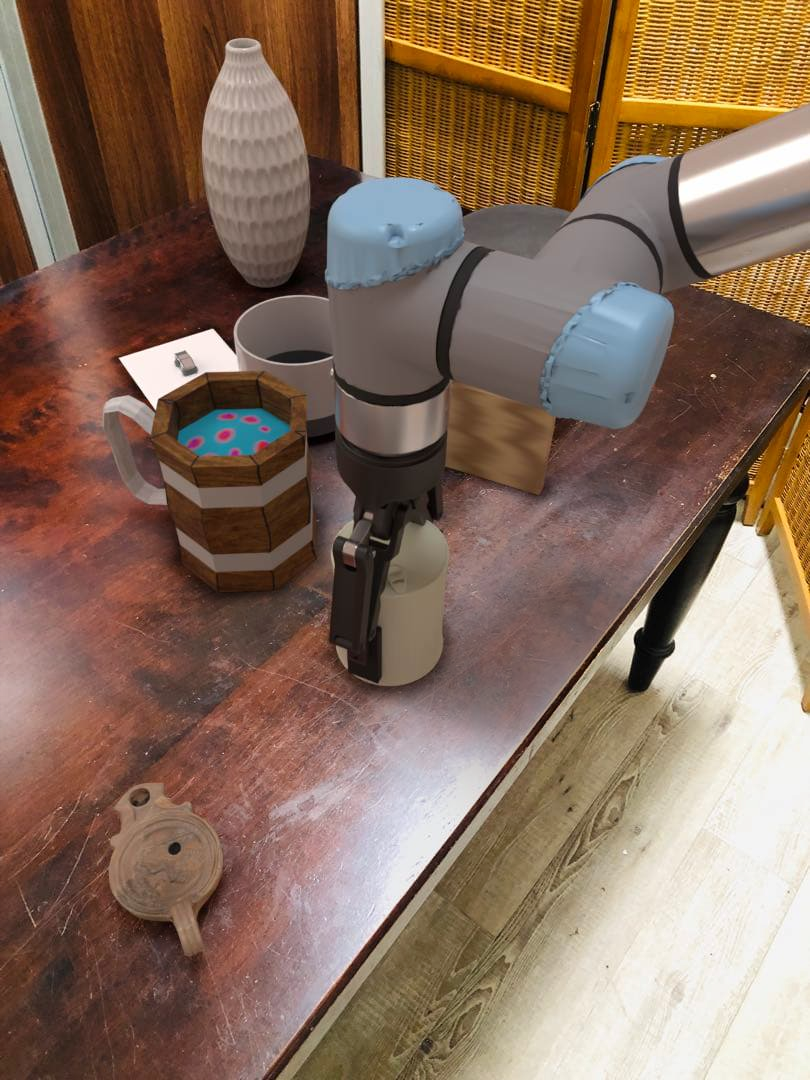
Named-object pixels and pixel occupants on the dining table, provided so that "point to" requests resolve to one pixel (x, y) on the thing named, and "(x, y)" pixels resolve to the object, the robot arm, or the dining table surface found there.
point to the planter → (292, 351)
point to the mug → (228, 475)
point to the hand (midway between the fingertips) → (389, 632)
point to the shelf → (498, 438)
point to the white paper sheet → (179, 363)
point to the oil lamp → (164, 861)
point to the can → (410, 605)
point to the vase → (255, 168)
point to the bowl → (514, 227)
